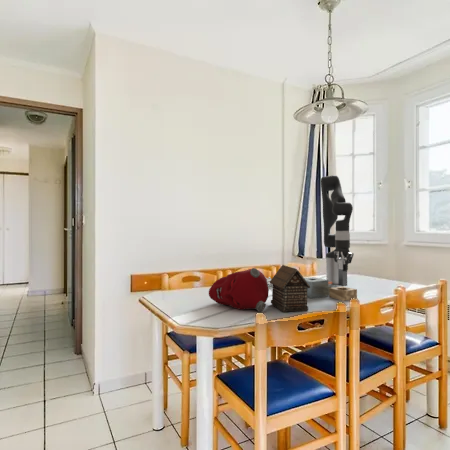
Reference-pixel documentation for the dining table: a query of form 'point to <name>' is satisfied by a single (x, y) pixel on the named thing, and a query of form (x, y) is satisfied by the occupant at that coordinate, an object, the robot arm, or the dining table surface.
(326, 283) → the grey tissue box
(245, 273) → the mask
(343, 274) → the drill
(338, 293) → the brown square box
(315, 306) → the dining table surface
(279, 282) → the model building
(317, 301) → the dining table surface
